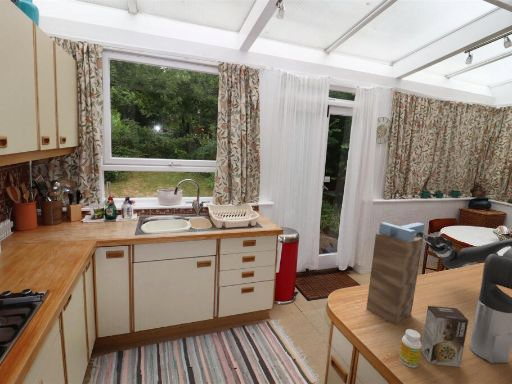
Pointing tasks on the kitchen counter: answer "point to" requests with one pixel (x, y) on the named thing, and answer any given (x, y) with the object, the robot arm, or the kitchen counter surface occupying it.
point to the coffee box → (444, 336)
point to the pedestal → (393, 277)
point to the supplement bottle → (410, 348)
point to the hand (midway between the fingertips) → (428, 234)
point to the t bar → (401, 230)
